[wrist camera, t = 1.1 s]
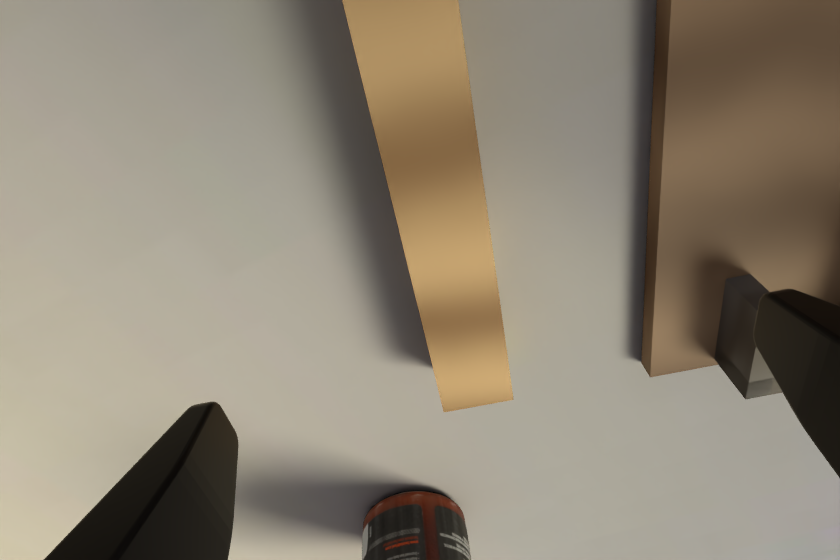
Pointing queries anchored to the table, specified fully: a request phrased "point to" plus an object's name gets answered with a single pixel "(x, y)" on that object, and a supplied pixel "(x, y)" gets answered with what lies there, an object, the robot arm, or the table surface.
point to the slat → (435, 187)
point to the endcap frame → (739, 177)
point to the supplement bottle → (415, 529)
